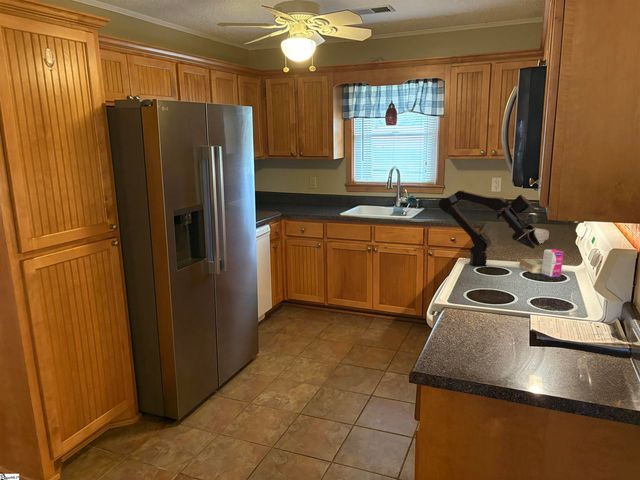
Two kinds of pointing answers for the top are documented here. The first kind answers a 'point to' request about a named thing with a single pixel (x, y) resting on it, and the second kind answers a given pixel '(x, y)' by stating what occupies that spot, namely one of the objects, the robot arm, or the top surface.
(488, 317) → the top surface
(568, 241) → the top surface
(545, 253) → the supplement box
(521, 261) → the block
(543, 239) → the paper bowls
